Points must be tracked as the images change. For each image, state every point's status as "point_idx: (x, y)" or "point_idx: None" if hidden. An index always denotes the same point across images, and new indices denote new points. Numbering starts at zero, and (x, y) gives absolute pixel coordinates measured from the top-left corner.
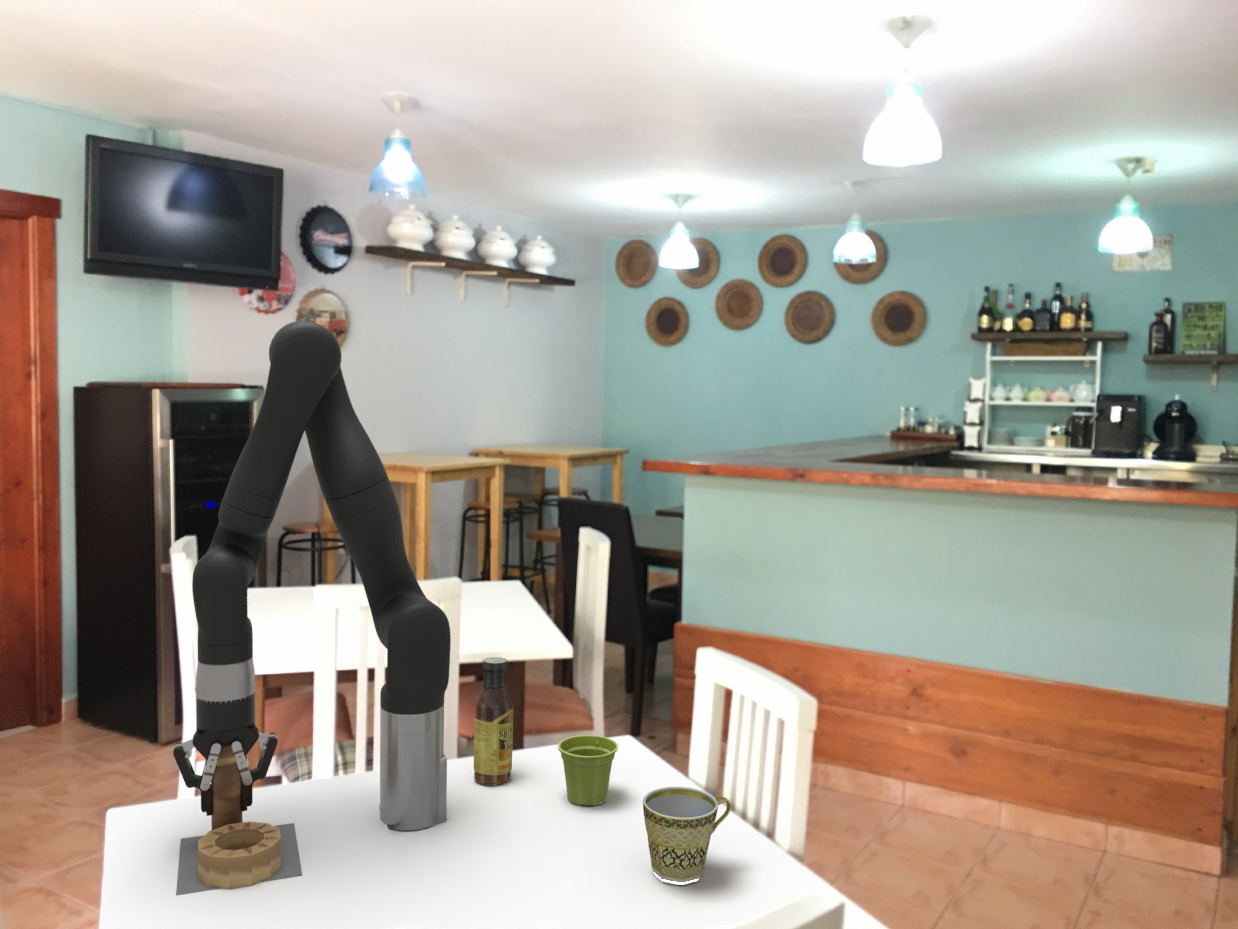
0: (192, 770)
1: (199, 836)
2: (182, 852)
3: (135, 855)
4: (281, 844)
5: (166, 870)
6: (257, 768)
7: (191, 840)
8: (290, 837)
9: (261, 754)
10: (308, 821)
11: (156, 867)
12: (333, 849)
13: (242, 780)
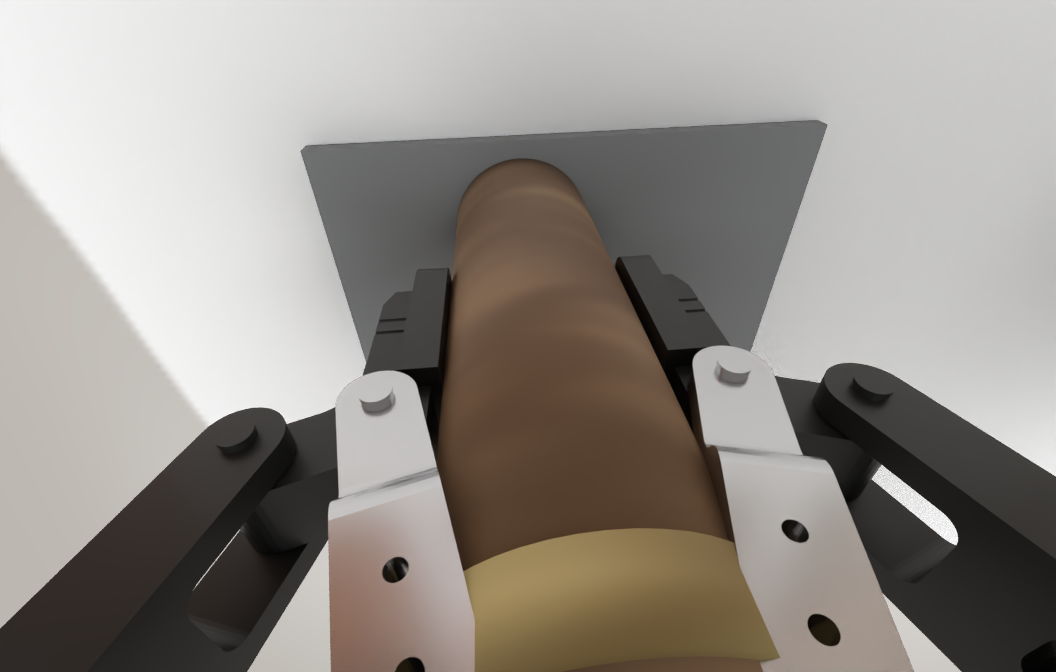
0: (233, 528)
1: (390, 154)
2: (354, 286)
3: (142, 225)
4: (712, 309)
5: (331, 359)
6: (833, 459)
7: (361, 188)
8: (759, 265)
9: (995, 530)
10: (900, 74)
11: (286, 335)
12: (849, 341)
13: (675, 350)
